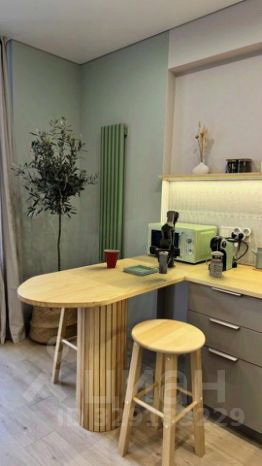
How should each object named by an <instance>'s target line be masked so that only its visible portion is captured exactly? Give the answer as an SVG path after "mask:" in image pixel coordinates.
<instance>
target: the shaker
mask: <svg viewBox="0 0 262 466" xmlns="http://www.w3.org/2000/svg"><path fill="white" fill-rule="evenodd" d="M167 261H168V252H167V251H159V263H158V274H160V275H167V274H168V268H169V267H168V264H167Z"/></svg>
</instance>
